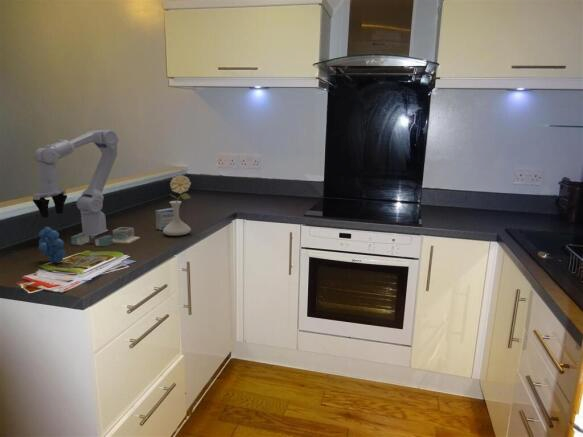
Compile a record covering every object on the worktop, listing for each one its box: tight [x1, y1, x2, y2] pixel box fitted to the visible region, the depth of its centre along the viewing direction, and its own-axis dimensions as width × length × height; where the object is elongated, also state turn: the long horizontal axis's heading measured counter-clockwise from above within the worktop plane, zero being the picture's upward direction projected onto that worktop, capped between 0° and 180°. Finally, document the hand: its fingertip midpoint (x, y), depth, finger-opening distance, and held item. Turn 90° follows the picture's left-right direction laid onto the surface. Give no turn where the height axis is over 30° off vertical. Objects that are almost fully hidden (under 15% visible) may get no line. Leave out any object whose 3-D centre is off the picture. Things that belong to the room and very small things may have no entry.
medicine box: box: [154, 207, 173, 231], centre depth 187 cm, size 8×4×9 cm, turn 138°
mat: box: [112, 236, 141, 245], centre depth 169 cm, size 8×9×1 cm
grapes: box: [38, 226, 66, 263], centre depth 139 cm, size 12×7×12 cm, turn 62°
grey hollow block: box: [112, 226, 136, 241], centre depth 168 cm, size 6×6×4 cm
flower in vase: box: [162, 174, 192, 237], centre depth 175 cm, size 13×11×25 cm
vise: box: [70, 233, 114, 247], centre depth 163 cm, size 5×14×3 cm, turn 79°
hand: (52, 215), depth 164 cm, fingers open, 7 cm apart
